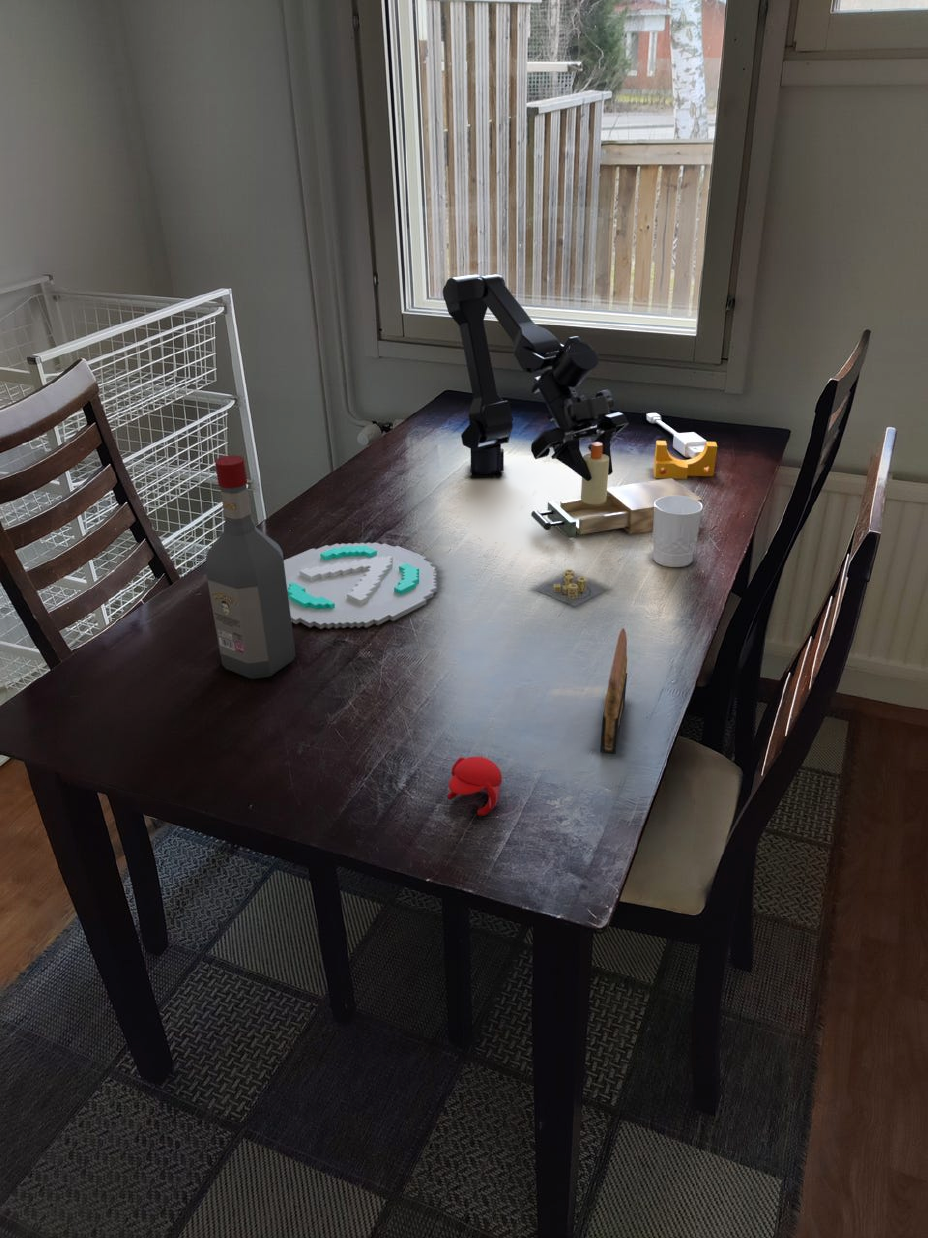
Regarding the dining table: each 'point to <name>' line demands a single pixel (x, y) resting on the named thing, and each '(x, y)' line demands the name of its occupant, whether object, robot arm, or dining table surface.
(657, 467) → the pipe clamp
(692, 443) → the charging cable
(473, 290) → the robot arm
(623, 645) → the ammunition clip
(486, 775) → the cap
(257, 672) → the liquor
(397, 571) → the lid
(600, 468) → the glue bottle
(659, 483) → the cabinet
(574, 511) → the drawer
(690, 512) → the white cup
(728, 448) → the dining table surface
